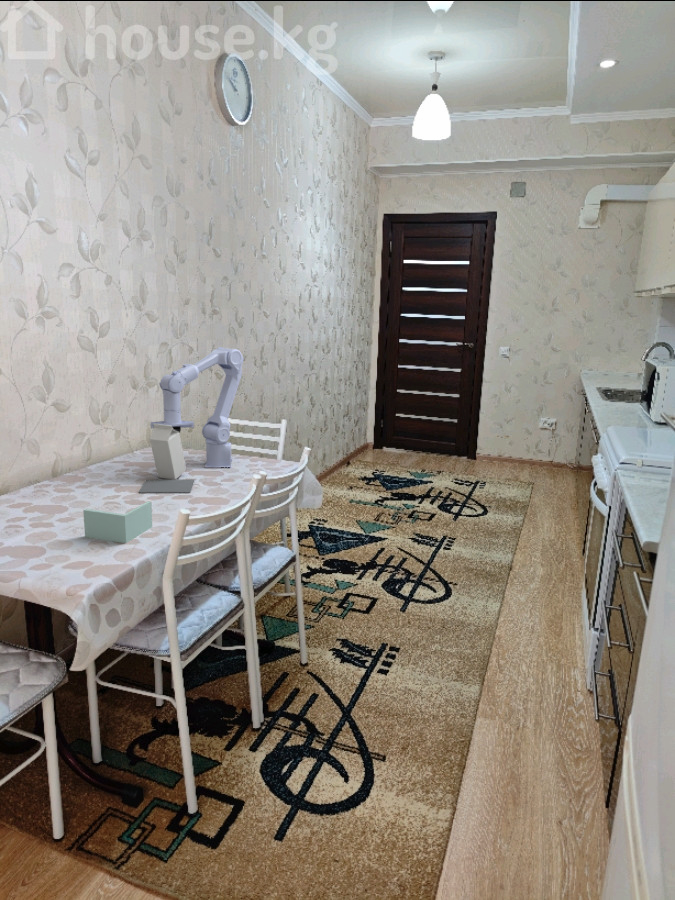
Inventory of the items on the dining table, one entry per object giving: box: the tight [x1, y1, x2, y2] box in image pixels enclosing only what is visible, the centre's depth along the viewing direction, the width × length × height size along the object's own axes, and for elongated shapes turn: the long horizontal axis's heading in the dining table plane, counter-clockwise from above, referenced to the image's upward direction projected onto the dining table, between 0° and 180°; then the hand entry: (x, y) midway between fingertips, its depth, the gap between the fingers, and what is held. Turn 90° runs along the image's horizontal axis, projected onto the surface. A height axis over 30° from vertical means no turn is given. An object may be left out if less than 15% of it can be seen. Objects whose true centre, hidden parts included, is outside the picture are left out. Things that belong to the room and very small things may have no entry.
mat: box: [137, 478, 195, 494], centre depth 195 cm, size 16×14×1 cm
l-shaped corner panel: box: [82, 501, 153, 544], centre depth 155 cm, size 12×12×8 cm
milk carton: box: [149, 424, 187, 479], centre depth 202 cm, size 7×7×19 cm
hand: (173, 447), depth 208 cm, fingers closed
